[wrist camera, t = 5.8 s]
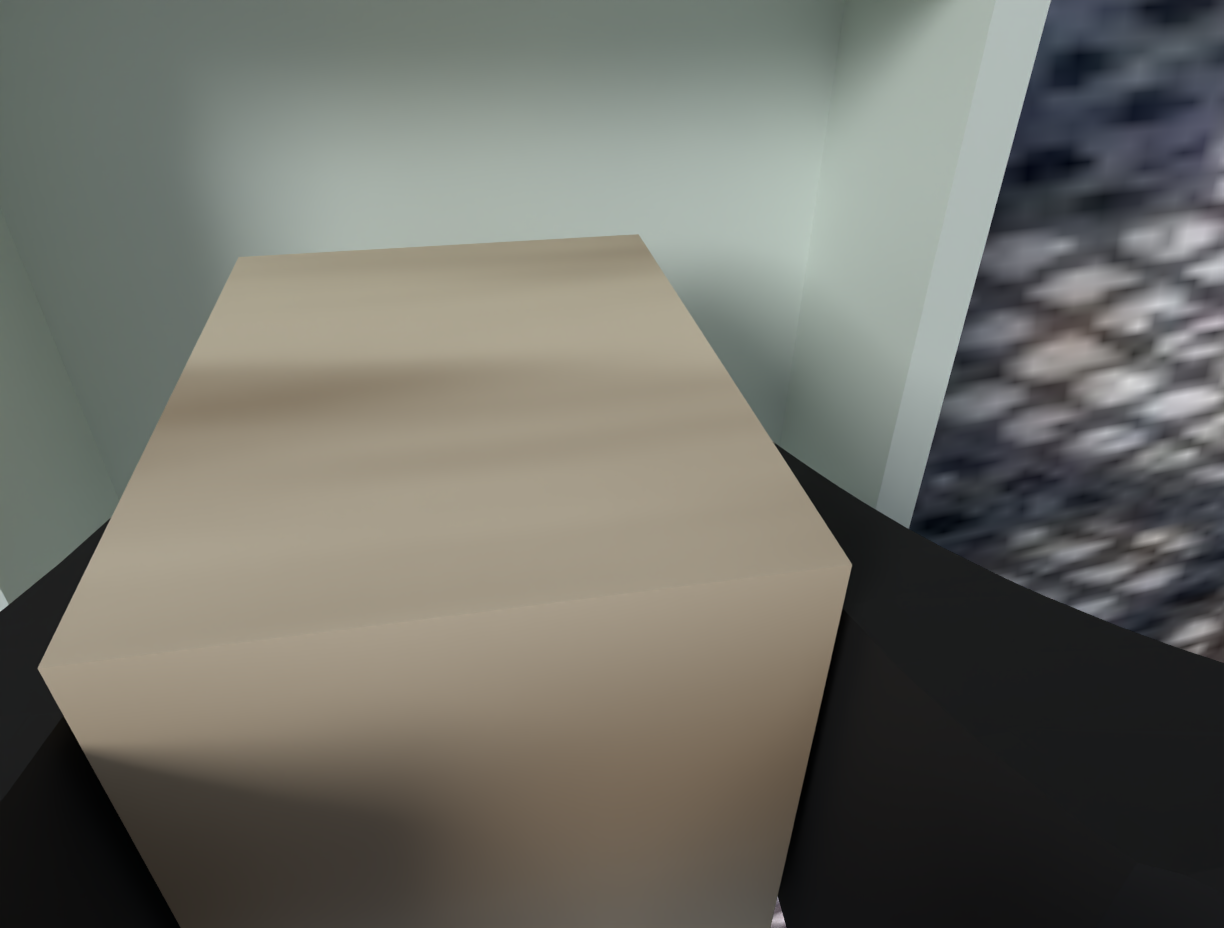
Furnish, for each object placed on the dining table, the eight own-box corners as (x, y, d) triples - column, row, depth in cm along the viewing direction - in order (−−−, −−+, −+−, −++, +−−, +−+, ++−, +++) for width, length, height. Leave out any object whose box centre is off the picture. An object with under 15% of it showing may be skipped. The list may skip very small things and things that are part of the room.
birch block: (630, 530, 12) (767, 941, 8) (317, 566, 12) (246, 1045, 7) (639, 234, 10) (852, 565, 5) (238, 256, 9) (38, 668, 4)
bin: (775, 572, 18) (855, 725, 14) (161, 650, 16) (95, 848, 13) (887, -134, 11) (1089, -144, 8) (-180, -152, 9) (-523, -177, 6)
